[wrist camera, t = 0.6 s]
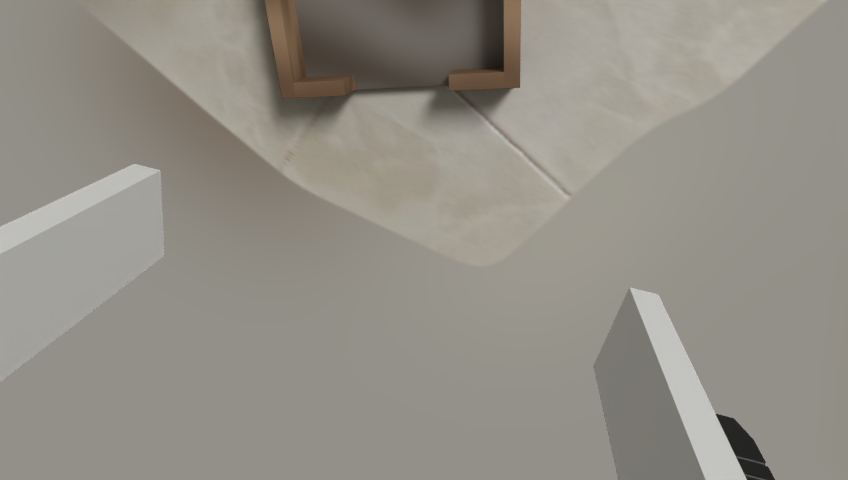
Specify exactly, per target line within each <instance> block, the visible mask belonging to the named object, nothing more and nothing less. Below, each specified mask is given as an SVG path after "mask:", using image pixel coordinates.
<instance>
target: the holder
mask: <svg viewBox="0 0 848 480" xmlns="http://www.w3.org/2000/svg"><path fill="white" fill-rule="evenodd" d="M265 6H266V11H267V17H268V23H269V28H270V34H271V39H272V45H273V51H274V56H275V62H276V67H277V73H278V79H279V84H280V90H281V95H282V98H302V97H324V96H345V95H347V94H349V93H350V92H352V91H354V90H357V89H378V88H399V87H420V86H441V85H449V91H456V90H478V89H500V88H520V33H521V0H265Z"/></svg>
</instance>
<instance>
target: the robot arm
mask: <svg viewBox="0 0 848 480" xmlns="http://www.w3.org/2000/svg"><path fill="white" fill-rule="evenodd" d="M160 173H161V172H160V170H156V169H153V168H148V167H144V166H141V165H136V164H133V165H131V166H129V167H127V168H125V169H123V170H120V171H118V172H116V173H114V174H112V175H110V176H107V177H105V178H103V179H101V180H99V181H97V182H95V183H93V184H90V185H89V186H86V187H84V188H82V189H80V190H78V191H76V192H73V193H71V194H69V195H67V196H65V197H63V198H61V199H58V200H56V201H54V202H52V203H50V204H48V205H46V206H44V207H41V208H39V209H37V210H35V211H33V212H31V213H29V214H26V215H24V216H22V217H20V218H18V219H16V220H14V221H11V222H9V223H7V224H5V225H3V226H1V227H0V382H1V381H3V380H4V379H5V378H6V377H8V376H9V375H10V374H12V373H13V372H14V371H15V370H17V369H18V368H19V367H21V366H22V365H23V364H25V363H26V362H27V361H28V360H30V359H31V358H32V357H34V356H35V355H36V354H37V353H39V352H40V351H41V350H43V349H44V348H45V347H46V346H48V345H49V344H50V343H52V342H53V341H54V340H55V339H57V338H58V337H59V336H61V335H62V334H63V333H65V332H66V331H67V330H69V329H70V328H71V327H72V326H74V325H75V324H76V323H78V322H79V321H80V320H81V319H83V318H84V317H85V316H87V315H88V314H89V313H90V312H92V311H93V310H94V309H95V308H97V307H98V306H100V305H101V304H102V303H103V302H104V301H106V300H107V299H109V298H110V297H111V296H113V294H115V293H116V292H118V291H119V290H120V289H122V288H123V287H124V286H125V285H127V284H128V283H129V282H130V281H132V280H133V279H134V278H136V277H137V276H138V275H139V274H141V273H142V272H143V271H145V270H146V269H147V268H149V267H150V266H151V265H152V264H154V263H155V262H156V261H158V260H159V259H160V258H162V257H163V256H164V241H163V218H162V194H161V174H160ZM594 371H595V375H596V380H597V384H598V389H599V393H600V398H601V403H602V407H603V412H604V417H605V421H606V426H607V430H608V435H609V440H610V444H611V448H612V453H613V458H614V462H615V467H616V472H617V476H618V480H775V479H774V477H773V475H772V473H771V471H770V469H769V468H768V467H767V466H765V463H766V462H765V460H764V459H763V457H762V455H761V453H760V451H759V449H758V447H757V445H756V444H755V442H754V440H753V439H752V438H751V437H750V436H749V434H748V433H747V432H746V431H745V430H744V429H743V428H742V427H741V426H740V425H739V424H738V422H737V421H736V420H735V419H733V418H730V417H726V416H722V415H718V414H715V412H714V410H713V408H712V406H711V404H710V402H709V400H708V397H707V395H706V393H705V391H704V389H703V387H702V385H701V383H700V381H699V379H698V377H697V375H696V372H695V370H694V368H693V366H692V364H691V362H690V360H689V358H688V356H687V354H686V352H685V349H684V347H683V345H682V343H681V341H680V339H679V337H678V335H677V333H676V331H675V329H674V327H673V324H672V322H671V320H670V318H669V316H668V314H667V312H666V310H665V308H664V306H663V304H662V301H661V300H660V297H659V295H658V294H654V293H650V292H646V291H642V290H638V289H634V288H629V290H628V292H627V294H626V296H625V299H624V301H623V303H622V305H621V307H620V309H619V312H618V314H617V316H616V318H615V320H614V323H613V325H612V327H611V329H610V331H609V333H608V336H607V338H606V340H605V342H604V344H603V346H602V348H601V351H600V353H599V355H598V357H597V359H596V362H595V364H594Z"/></svg>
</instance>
